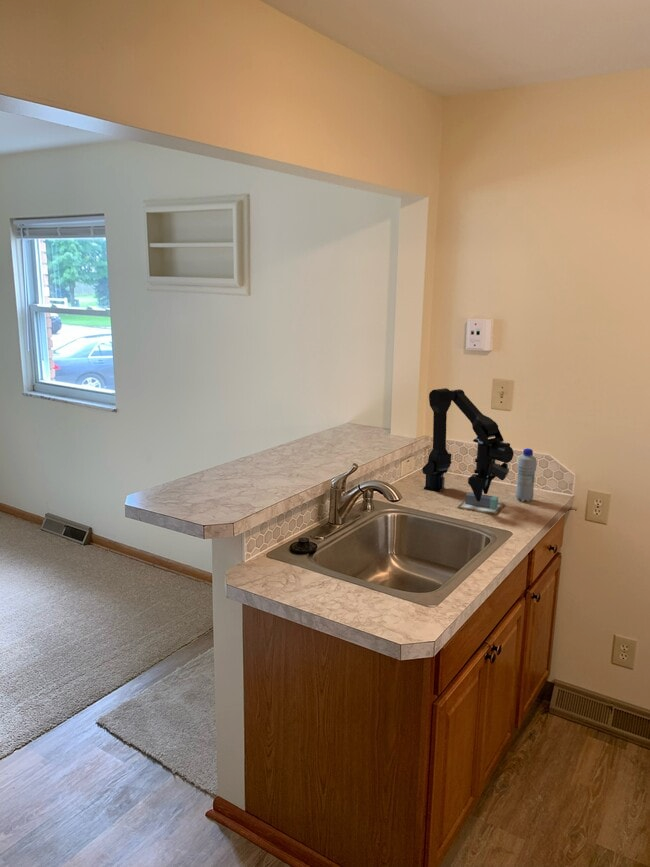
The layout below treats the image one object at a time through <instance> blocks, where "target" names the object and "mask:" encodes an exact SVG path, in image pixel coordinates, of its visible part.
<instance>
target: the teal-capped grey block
mask: <svg viewBox="0 0 650 867" xmlns="http://www.w3.org/2000/svg"><path fill="white" fill-rule="evenodd" d="M465 499H466V500H465ZM465 499H464V500H465V504H469V505H474V506H480V507H485V508H491V509H496V508H497V507H498V503H499V496H493V495H490V494H484V493H482V496H481V500H480V502H479V501H477V500H476V498H475V495H474V493H473V492H470V491H469V492H467V493H466V494H465Z"/></svg>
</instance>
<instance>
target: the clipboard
mask: <svg viewBox="0 0 650 867" xmlns="http://www.w3.org/2000/svg"><path fill="white" fill-rule="evenodd" d="M465 500H466V498H465V499H464V500H463V501H462V502H461V503H460V504H459V505H458V506H457V509H459V508H461V509H460V510H464V509H467V510H466V511H470V510H472V512H475V511H476V512H477V513H481V514H486V513H487V515H493V516H497V515H498V514H499V512H500V511H501V510H502V509H503V508H504V507H505V505H506V504H505V503H502V502H498V507H497V508H496V509H491V508H485V507H480V506H474V505H469V504H465Z"/></svg>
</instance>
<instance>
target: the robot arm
mask: <svg viewBox="0 0 650 867" xmlns="http://www.w3.org/2000/svg"><path fill="white" fill-rule="evenodd" d="M428 400H429V401H428V402H429V407H430V408H431V410H432V412H433V418H432V420H433V422H432V424H433V426H432V449H431V450H430V453H429V455H428V459H427V463H426V464H424V466H422V468H421V469H422V470H421V471H422V474H423V475H425V486H424V487H423V489H424V490H429V491H434V492H440V491H442V490H443V489H444V488H445V483H446V482H445V481H446V480H445V479H446V478H445V477H444V475H445V474H446V473H448V471H449V469H450V467H451V465H452V453H449V452H448V450H447V418H448V417H447V416H448V414H447V413H448V411H449V409H450V407H451V406H452V402H453V403H454V404H455V405H456V407H457V408H458V409H459V411H461V412H462V413H463V414H464V416H465V417H466V418H467V419H468V420H469V422H470V423H471V427H472V430H473V432H474V433H475V435H476V438H474V439H473V440H472V441H473V443H475V444H476V443H477V447H476V448H477V450H476V451H477V452H476V458H474V462H475V463H476V464H475V469H474V471H473V474H471V475H470V476H469V477H468V478H467V484H468V485H469V486H470V488H471V490H472V493H474V495H475V498H476V500H477V501H479V502H480V500H481V496H482V494H483V495H488V492H489V490H490V486H491V483H492V482H493V481H492V480H494V479H495V478H498V479H499V480H500V481H504V480H505V479H506V478H507V476H508V474H509V472H510V468H509V465H508V463H510V462H511V461H512V460H513V458H514V454H515V453H514V449H513V448H512V446H511V443H510V442H504V441H505V439H504V437H503V434H502V433H501V431H500V429H499V425H498V423H497V422H496V421H494V420H493V419H492V418H491V417H489V416H487V415H484V414H483V413H482V412H481V411H480V410H479V409H478V407H477V406H476V405H475V404H474V403H473V402H472V401H471V399H470V398H469V397H468V396H467V395H466V393H465V391H464V390H462V389H453V390H452V389H451V390H450V389H448V388H445V387H444V388H438V389H437V388H435V389H432V390H431V391H430V392H429V394H428ZM496 461H498V462H501V464H500V463H496Z"/></svg>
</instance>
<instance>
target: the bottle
mask: <svg viewBox="0 0 650 867" xmlns="http://www.w3.org/2000/svg"><path fill="white" fill-rule="evenodd" d="M522 452H523V453H522V454H523V455H520V456H519V458H518V461H517V470H518V472H517V482H516V490H515V497H516V499H517V501H519V502H520V501H521V503H522V502H523V503H524V502H525V500H526V503H529V502H531V501H533V499H534V494H535V493H534V488H535V487H534V485H535V484H534V483H535V476H536V475H535V474H536V471H537V458H536V457H535V456H533V455H534V454H533V453H534V450H533V449H531V448H524V449H523V451H522Z"/></svg>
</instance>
